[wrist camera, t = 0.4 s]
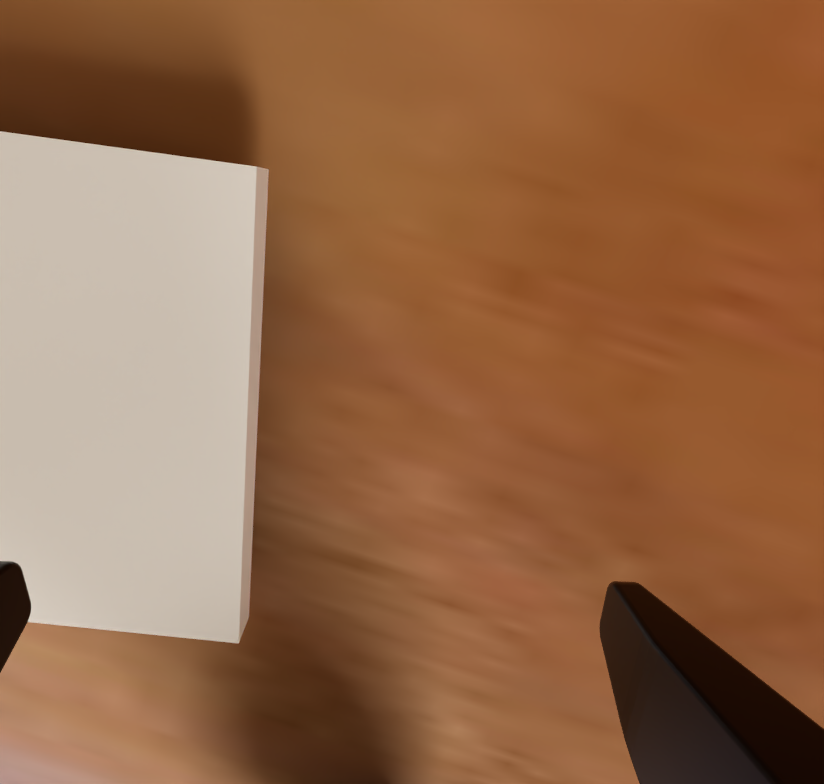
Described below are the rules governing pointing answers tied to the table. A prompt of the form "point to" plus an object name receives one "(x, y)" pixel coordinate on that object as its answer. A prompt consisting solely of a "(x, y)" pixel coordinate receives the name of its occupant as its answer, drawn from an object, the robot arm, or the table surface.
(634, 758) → the robot arm
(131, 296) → the white slab
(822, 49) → the table surface
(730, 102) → the table surface
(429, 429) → the table surface
